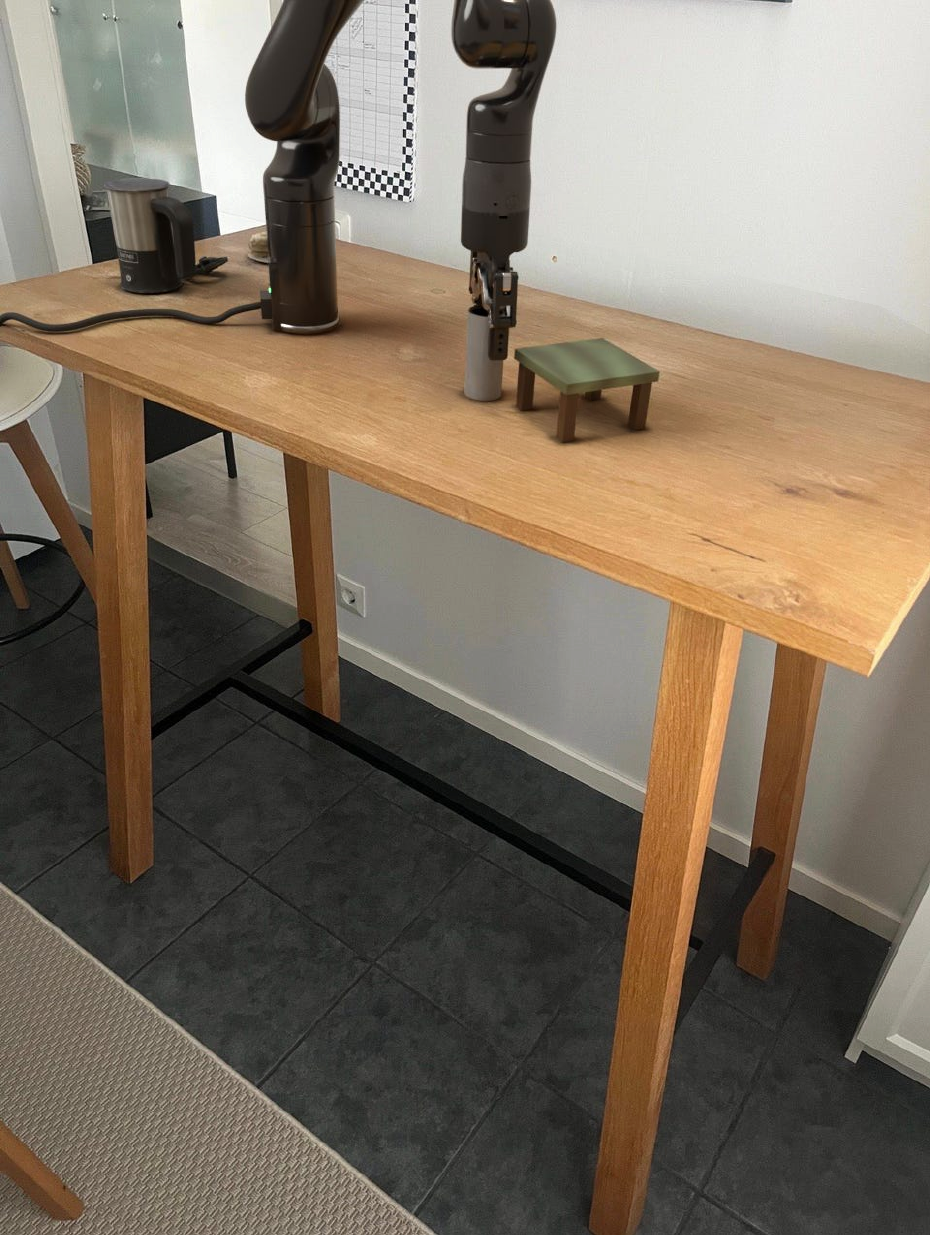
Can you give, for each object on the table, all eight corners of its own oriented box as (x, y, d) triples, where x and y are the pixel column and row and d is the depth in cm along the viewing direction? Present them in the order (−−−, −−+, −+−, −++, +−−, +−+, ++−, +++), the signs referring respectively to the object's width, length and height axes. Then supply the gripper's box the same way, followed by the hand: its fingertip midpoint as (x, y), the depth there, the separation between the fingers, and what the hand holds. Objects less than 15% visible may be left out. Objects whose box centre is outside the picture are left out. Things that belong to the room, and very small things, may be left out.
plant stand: (560, 445, 109) (567, 384, 105) (510, 405, 118) (514, 348, 114) (650, 429, 113) (659, 371, 109) (595, 393, 122) (602, 337, 118)
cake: (267, 251, 174) (267, 218, 171) (317, 260, 171) (317, 227, 168) (235, 258, 166) (234, 224, 163) (286, 268, 163) (286, 233, 160)
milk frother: (108, 291, 149) (91, 186, 140) (158, 265, 161) (145, 167, 153) (195, 301, 146) (183, 195, 138) (239, 274, 159) (230, 175, 151)
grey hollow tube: (462, 387, 122) (466, 304, 116) (498, 387, 122) (504, 304, 117) (465, 401, 118) (469, 316, 112) (503, 401, 119) (508, 316, 113)
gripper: (450, 189, 113) (447, 329, 122) (475, 217, 102) (470, 369, 111) (513, 189, 115) (506, 327, 124) (545, 216, 103) (535, 366, 112)
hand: (489, 347), depth 117 cm, fingers open, 8 cm apart
